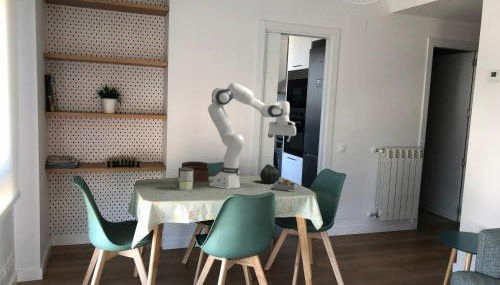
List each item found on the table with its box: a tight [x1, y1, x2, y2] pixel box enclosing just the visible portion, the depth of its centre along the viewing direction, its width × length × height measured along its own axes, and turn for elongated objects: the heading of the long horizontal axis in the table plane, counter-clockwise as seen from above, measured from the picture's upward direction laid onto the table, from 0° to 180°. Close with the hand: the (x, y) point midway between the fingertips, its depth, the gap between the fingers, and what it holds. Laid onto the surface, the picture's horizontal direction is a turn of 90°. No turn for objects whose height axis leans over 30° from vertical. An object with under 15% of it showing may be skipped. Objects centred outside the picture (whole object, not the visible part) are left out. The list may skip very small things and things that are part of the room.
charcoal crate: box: [272, 180, 298, 191], centre depth 297 cm, size 15×13×4 cm
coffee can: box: [177, 166, 194, 191], centre depth 279 cm, size 10×10×14 cm
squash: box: [259, 163, 280, 184], centre depth 317 cm, size 14×15×15 cm
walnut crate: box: [280, 179, 291, 186], centre depth 297 cm, size 6×9×5 cm, turn 164°
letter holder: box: [181, 160, 210, 183], centre depth 310 cm, size 10×20×14 cm, turn 105°
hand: (281, 141), depth 301 cm, fingers open, 8 cm apart
